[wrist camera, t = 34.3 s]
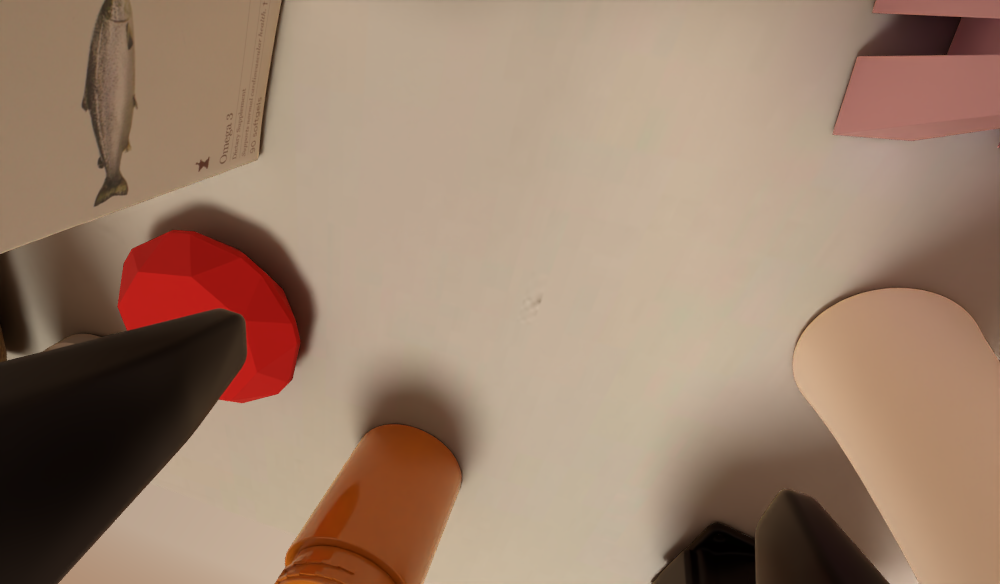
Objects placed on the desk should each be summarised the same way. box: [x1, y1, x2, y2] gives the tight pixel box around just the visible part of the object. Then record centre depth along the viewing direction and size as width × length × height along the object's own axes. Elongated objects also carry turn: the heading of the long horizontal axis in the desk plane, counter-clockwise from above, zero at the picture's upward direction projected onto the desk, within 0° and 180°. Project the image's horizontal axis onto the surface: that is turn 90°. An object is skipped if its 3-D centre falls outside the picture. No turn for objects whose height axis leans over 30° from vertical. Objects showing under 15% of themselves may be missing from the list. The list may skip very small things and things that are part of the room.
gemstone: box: [117, 230, 301, 403], centre depth 25 cm, size 9×9×3 cm
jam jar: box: [275, 424, 462, 584], centre depth 25 cm, size 6×6×9 cm
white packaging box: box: [0, 0, 282, 254], centre depth 15 cm, size 7×7×13 cm
